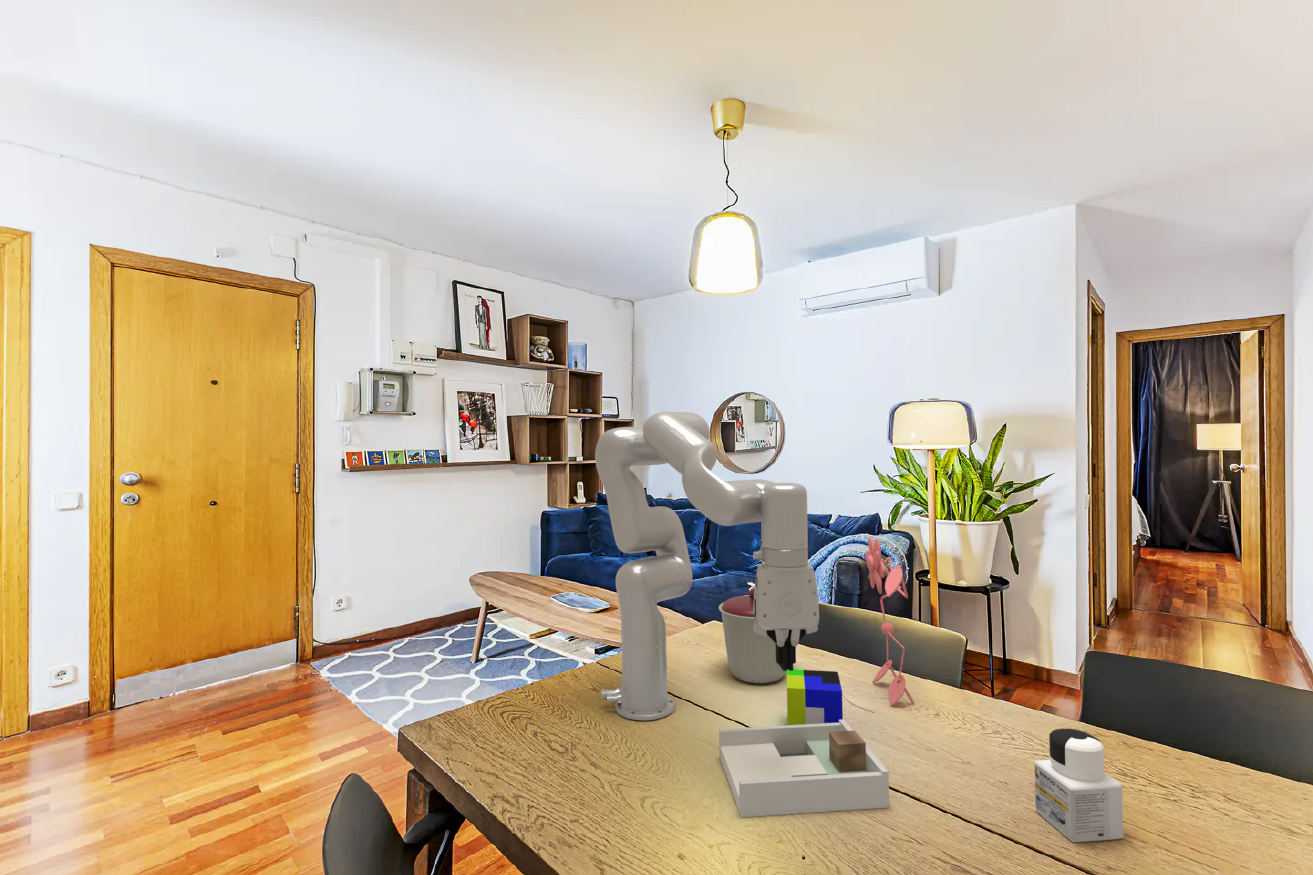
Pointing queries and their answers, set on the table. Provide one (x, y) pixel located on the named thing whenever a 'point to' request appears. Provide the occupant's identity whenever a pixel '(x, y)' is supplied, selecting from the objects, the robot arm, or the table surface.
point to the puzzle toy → (813, 697)
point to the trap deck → (796, 772)
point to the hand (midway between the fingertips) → (785, 667)
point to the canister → (748, 643)
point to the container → (1078, 789)
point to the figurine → (887, 628)
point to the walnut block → (847, 751)
